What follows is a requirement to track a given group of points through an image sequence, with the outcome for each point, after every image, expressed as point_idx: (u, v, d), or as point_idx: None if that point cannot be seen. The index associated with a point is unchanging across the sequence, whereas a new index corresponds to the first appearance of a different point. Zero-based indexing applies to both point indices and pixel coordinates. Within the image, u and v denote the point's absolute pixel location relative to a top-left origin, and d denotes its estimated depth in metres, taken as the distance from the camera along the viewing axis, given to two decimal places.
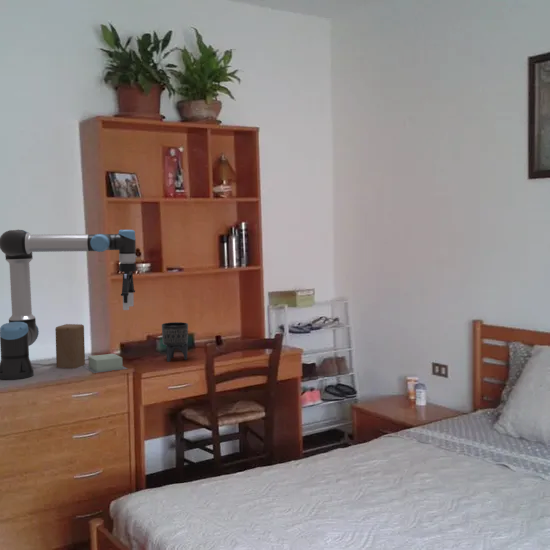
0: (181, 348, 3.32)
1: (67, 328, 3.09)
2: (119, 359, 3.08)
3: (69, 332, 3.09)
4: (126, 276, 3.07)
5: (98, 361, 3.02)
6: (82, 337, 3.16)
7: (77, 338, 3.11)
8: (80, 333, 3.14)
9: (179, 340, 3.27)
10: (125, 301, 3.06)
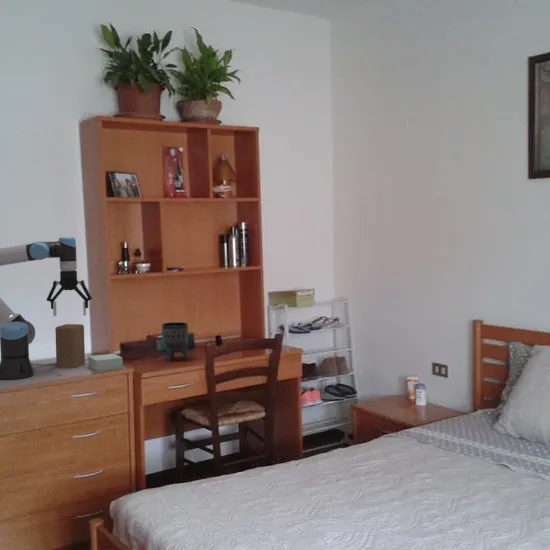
0: (181, 348, 3.32)
1: (67, 328, 3.09)
2: (119, 359, 3.08)
3: (69, 332, 3.09)
4: None
5: (98, 361, 3.02)
6: (82, 337, 3.16)
7: (77, 338, 3.11)
8: (80, 333, 3.14)
9: (179, 340, 3.27)
10: None
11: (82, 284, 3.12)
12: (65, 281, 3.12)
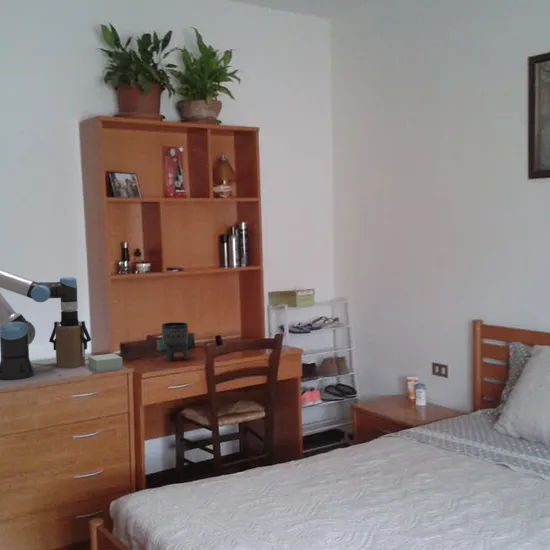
0: (181, 348, 3.32)
1: (67, 328, 3.09)
2: (119, 359, 3.08)
3: (69, 332, 3.09)
4: None
5: (98, 361, 3.02)
6: None
7: (77, 338, 3.11)
8: None
9: (179, 340, 3.27)
10: None
11: (83, 325, 3.14)
12: (66, 321, 3.13)
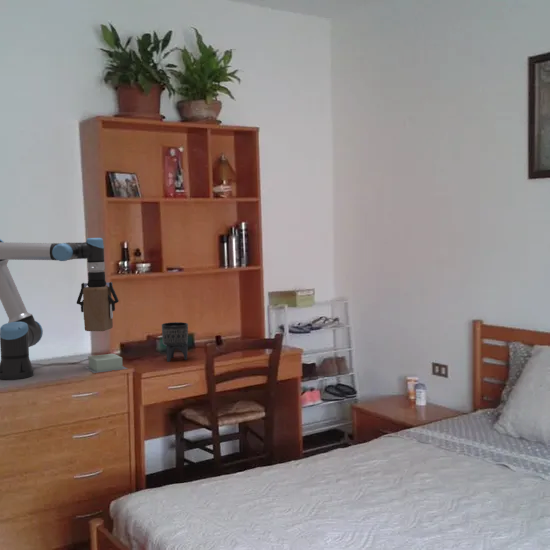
0: (181, 348, 3.32)
1: (95, 289, 3.04)
2: (119, 359, 3.08)
3: (97, 293, 3.04)
4: None
5: (98, 361, 3.02)
6: None
7: (105, 298, 3.06)
8: (107, 295, 3.09)
9: (179, 340, 3.27)
10: (81, 310, 3.09)
11: (110, 286, 3.08)
12: (93, 282, 3.07)
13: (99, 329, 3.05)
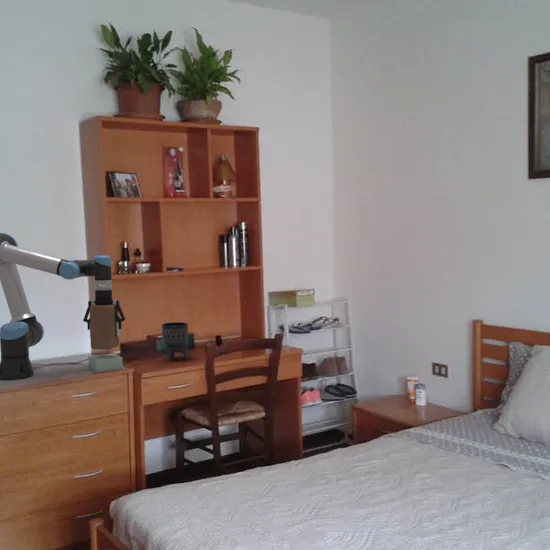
0: (181, 348, 3.32)
1: (102, 307, 3.03)
2: (119, 359, 3.08)
3: (104, 311, 3.03)
4: (88, 303, 3.07)
5: (98, 361, 3.02)
6: None
7: (112, 317, 3.05)
8: (114, 313, 3.08)
9: (179, 340, 3.27)
10: None
11: (117, 304, 3.08)
12: (100, 300, 3.07)
13: (105, 347, 3.04)
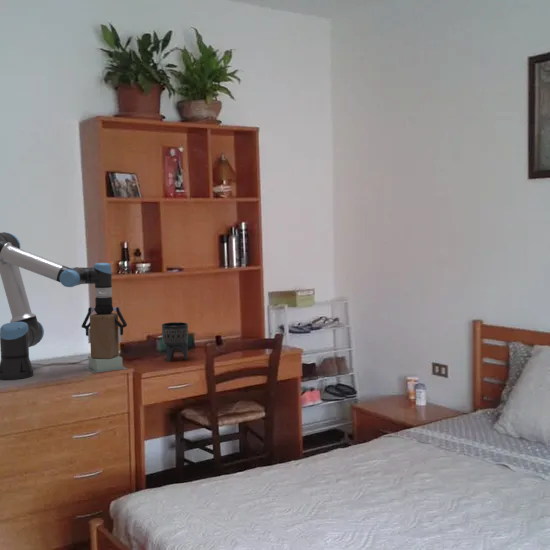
0: (181, 348, 3.32)
1: (102, 316, 3.04)
2: (119, 359, 3.08)
3: (104, 321, 3.03)
4: (88, 310, 3.07)
5: (98, 361, 3.02)
6: (116, 326, 3.11)
7: (112, 326, 3.06)
8: (114, 322, 3.08)
9: (179, 340, 3.27)
10: None
11: (117, 311, 3.08)
12: (100, 308, 3.07)
13: (105, 357, 3.05)
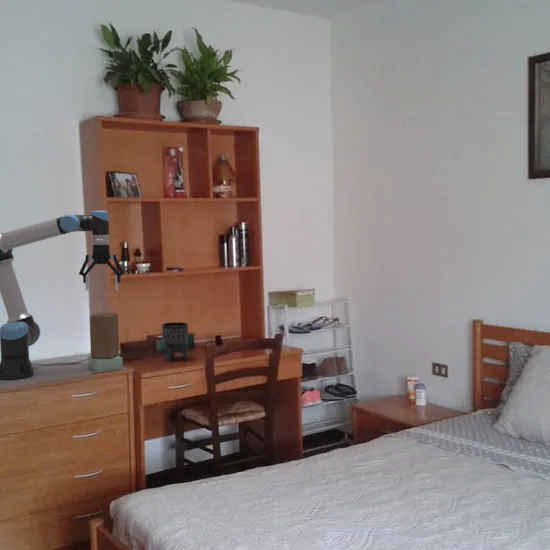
0: (181, 348, 3.32)
1: (102, 316, 3.04)
2: (119, 359, 3.08)
3: (104, 321, 3.03)
4: None
5: (98, 361, 3.02)
6: (116, 326, 3.11)
7: (112, 326, 3.06)
8: (114, 322, 3.08)
9: (179, 340, 3.27)
10: None
11: (114, 258, 3.09)
12: (98, 255, 3.09)
13: (105, 357, 3.05)
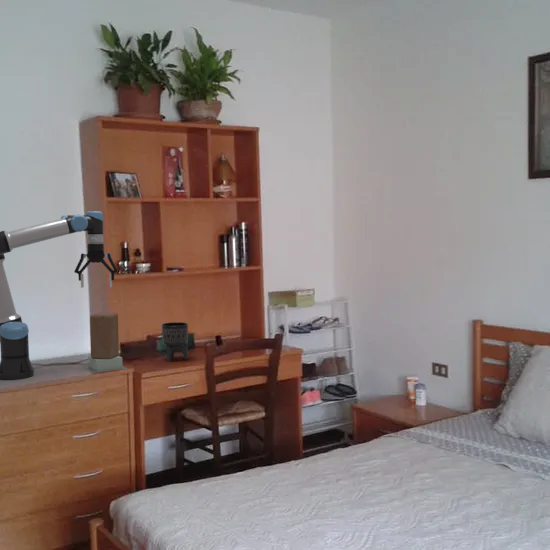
0: (181, 348, 3.32)
1: (102, 316, 3.04)
2: (119, 359, 3.08)
3: (104, 321, 3.03)
4: (81, 255, 3.23)
5: (98, 361, 3.02)
6: (116, 326, 3.11)
7: (112, 326, 3.06)
8: (114, 322, 3.08)
9: (179, 340, 3.27)
10: None
11: (109, 257, 3.23)
12: (92, 254, 3.23)
13: (105, 357, 3.05)
